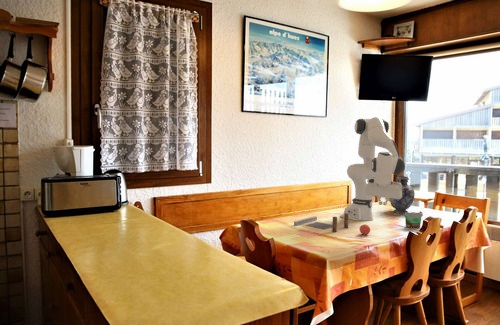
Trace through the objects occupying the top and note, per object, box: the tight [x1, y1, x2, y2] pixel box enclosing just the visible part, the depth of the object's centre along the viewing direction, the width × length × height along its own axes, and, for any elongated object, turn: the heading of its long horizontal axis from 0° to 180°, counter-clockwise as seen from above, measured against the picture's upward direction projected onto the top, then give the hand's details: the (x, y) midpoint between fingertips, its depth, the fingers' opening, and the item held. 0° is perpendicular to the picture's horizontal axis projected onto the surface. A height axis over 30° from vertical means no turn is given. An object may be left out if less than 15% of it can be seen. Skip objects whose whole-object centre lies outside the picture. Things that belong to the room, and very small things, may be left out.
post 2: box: [343, 212, 350, 229], centre depth 237 cm, size 3×3×9 cm
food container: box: [404, 210, 424, 229], centre depth 241 cm, size 12×6×10 cm, turn 105°
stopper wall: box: [293, 215, 318, 227], centre depth 249 cm, size 2×24×2 cm, turn 138°
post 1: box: [331, 216, 338, 233], centre depth 226 cm, size 3×3×9 cm
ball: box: [359, 224, 371, 236], centre depth 221 cm, size 6×6×6 cm
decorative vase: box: [389, 175, 415, 214], centre depth 292 cm, size 21×19×28 cm
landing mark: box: [305, 221, 332, 230], centre depth 241 cm, size 14×14×1 cm
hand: (382, 204), depth 213 cm, fingers closed
